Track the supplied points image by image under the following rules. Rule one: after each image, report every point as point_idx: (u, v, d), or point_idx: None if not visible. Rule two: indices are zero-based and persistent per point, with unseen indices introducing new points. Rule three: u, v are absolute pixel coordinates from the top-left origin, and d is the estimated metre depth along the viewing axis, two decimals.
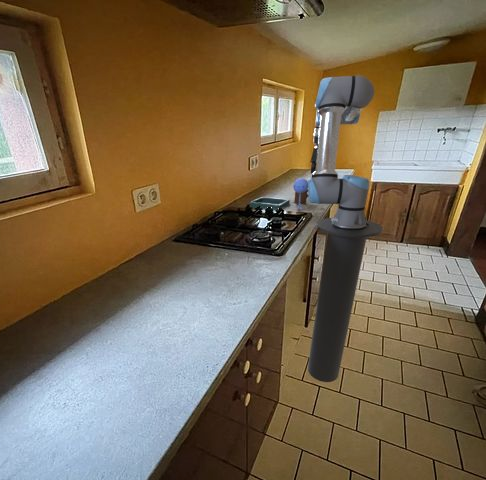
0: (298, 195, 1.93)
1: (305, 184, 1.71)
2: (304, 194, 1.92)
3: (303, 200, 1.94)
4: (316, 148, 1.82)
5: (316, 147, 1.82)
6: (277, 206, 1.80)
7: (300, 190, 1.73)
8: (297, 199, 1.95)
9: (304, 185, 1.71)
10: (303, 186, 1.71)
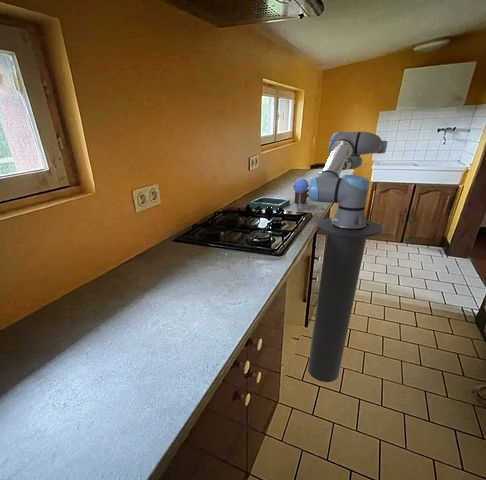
0: (298, 195, 1.93)
1: (305, 184, 1.71)
2: (304, 194, 1.92)
3: (303, 200, 1.94)
4: (343, 167, 1.92)
5: (343, 167, 1.92)
6: (277, 206, 1.80)
7: (300, 190, 1.73)
8: (297, 199, 1.95)
9: (304, 185, 1.71)
10: (303, 186, 1.71)
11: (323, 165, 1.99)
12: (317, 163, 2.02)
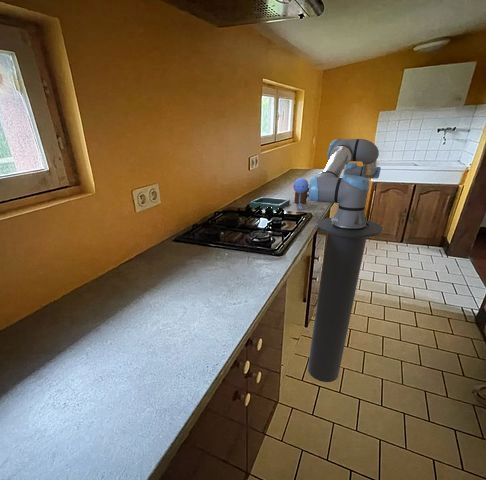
0: (298, 195, 1.93)
1: (305, 184, 1.71)
2: (304, 194, 1.92)
3: (303, 200, 1.94)
4: None
5: None
6: (277, 206, 1.80)
7: (300, 190, 1.73)
8: (297, 199, 1.95)
9: (304, 185, 1.71)
10: (303, 186, 1.71)
11: None
12: None
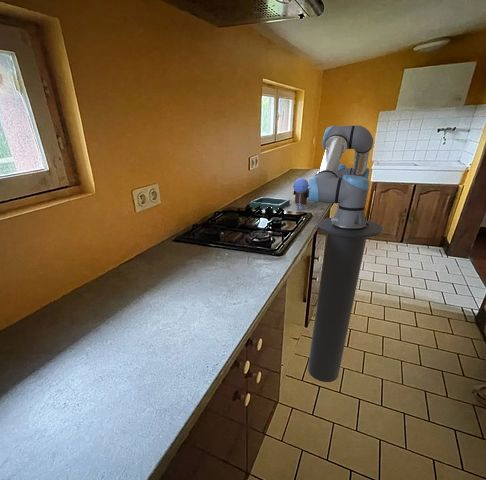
0: (299, 195, 1.93)
1: (305, 184, 1.71)
2: None
3: (304, 200, 1.93)
4: None
5: None
6: (277, 206, 1.80)
7: (300, 190, 1.73)
8: (298, 199, 1.94)
9: (304, 185, 1.71)
10: (303, 186, 1.71)
11: None
12: None
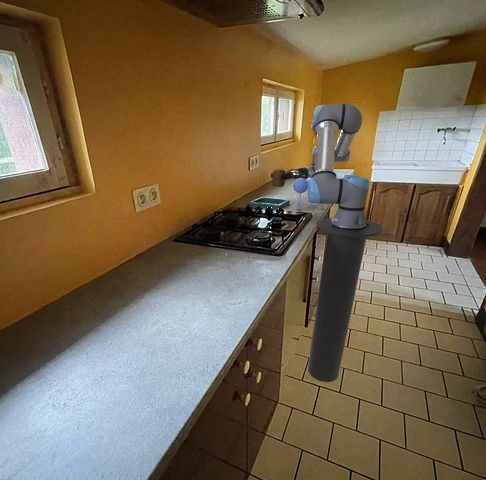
0: (276, 178, 1.84)
1: (305, 184, 1.71)
2: None
3: (281, 183, 1.85)
4: (302, 176, 1.85)
5: (303, 176, 1.85)
6: (277, 206, 1.80)
7: (300, 190, 1.73)
8: (275, 182, 1.85)
9: (304, 185, 1.71)
10: (303, 186, 1.71)
11: None
12: None
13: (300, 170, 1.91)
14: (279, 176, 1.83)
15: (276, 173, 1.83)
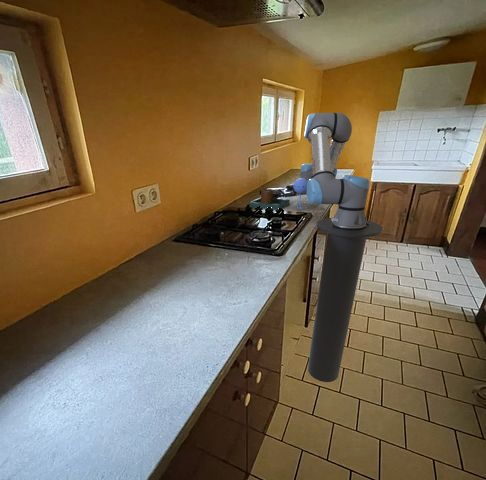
0: (264, 197, 1.87)
1: (305, 184, 1.71)
2: (270, 196, 1.86)
3: (269, 202, 1.88)
4: (291, 194, 1.88)
5: (292, 193, 1.88)
6: (277, 206, 1.80)
7: (300, 190, 1.73)
8: (263, 201, 1.88)
9: (304, 185, 1.71)
10: (303, 186, 1.71)
11: (273, 190, 1.95)
12: (268, 188, 1.98)
13: (288, 187, 1.93)
14: (267, 196, 1.86)
15: (264, 193, 1.86)
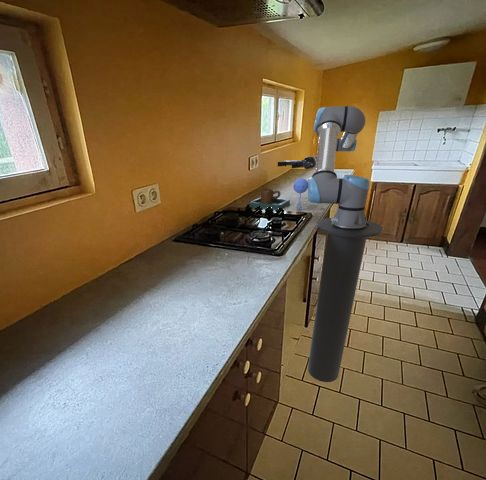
0: (264, 197, 1.87)
1: (305, 184, 1.71)
2: (270, 196, 1.86)
3: (269, 202, 1.88)
4: (310, 165, 1.86)
5: (311, 164, 1.86)
6: (277, 206, 1.80)
7: (300, 190, 1.73)
8: (263, 201, 1.88)
9: (304, 185, 1.71)
10: (303, 186, 1.71)
11: (291, 163, 1.93)
12: (286, 161, 1.96)
13: (307, 159, 1.91)
14: (267, 196, 1.86)
15: (264, 193, 1.86)
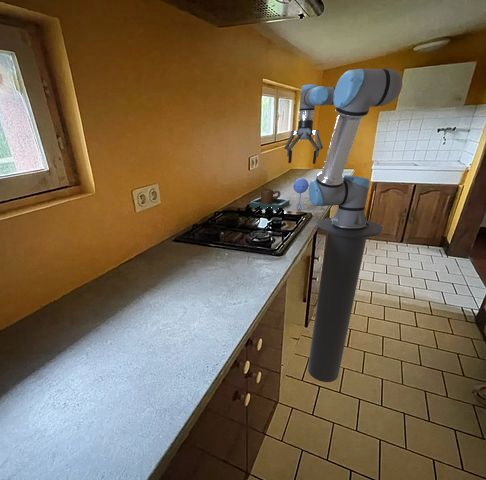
0: (264, 197, 1.87)
1: (305, 184, 1.71)
2: (270, 196, 1.86)
3: (269, 202, 1.88)
4: None
5: (317, 132, 1.56)
6: (277, 206, 1.80)
7: (300, 190, 1.73)
8: (263, 201, 1.88)
9: (304, 185, 1.71)
10: (303, 186, 1.71)
11: (294, 144, 1.64)
12: (285, 146, 1.66)
13: (304, 128, 1.57)
14: (267, 196, 1.86)
15: (264, 193, 1.86)
